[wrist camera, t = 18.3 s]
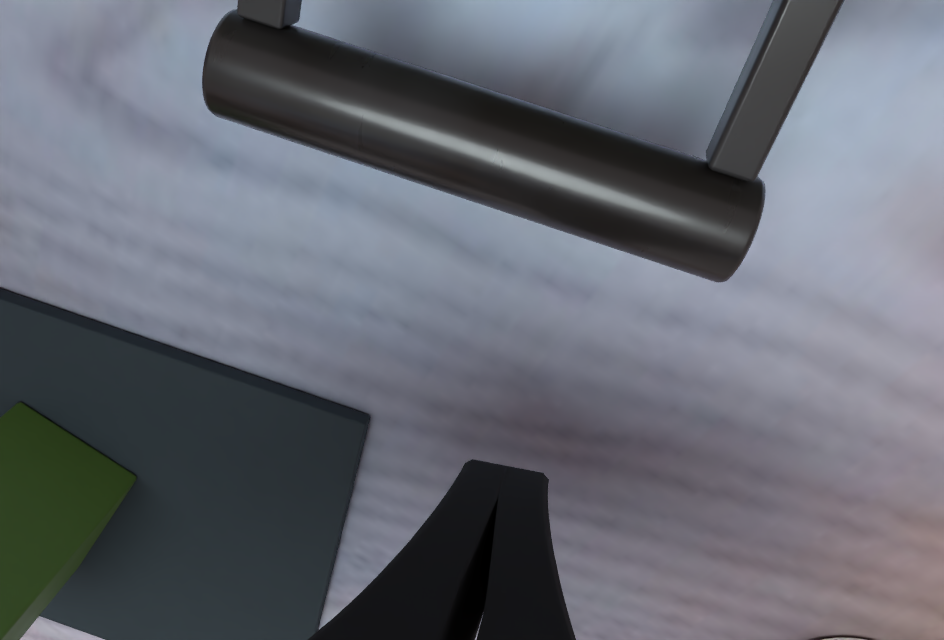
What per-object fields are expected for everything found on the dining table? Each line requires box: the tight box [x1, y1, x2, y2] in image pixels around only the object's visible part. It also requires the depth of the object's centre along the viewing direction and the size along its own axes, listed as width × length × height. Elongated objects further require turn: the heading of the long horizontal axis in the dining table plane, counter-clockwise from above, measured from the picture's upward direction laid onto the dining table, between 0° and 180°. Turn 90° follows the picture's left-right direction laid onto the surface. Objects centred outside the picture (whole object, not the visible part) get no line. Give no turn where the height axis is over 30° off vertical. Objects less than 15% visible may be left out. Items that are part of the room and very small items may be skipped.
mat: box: [0, 289, 370, 640], centre depth 22 cm, size 12×16×1 cm
